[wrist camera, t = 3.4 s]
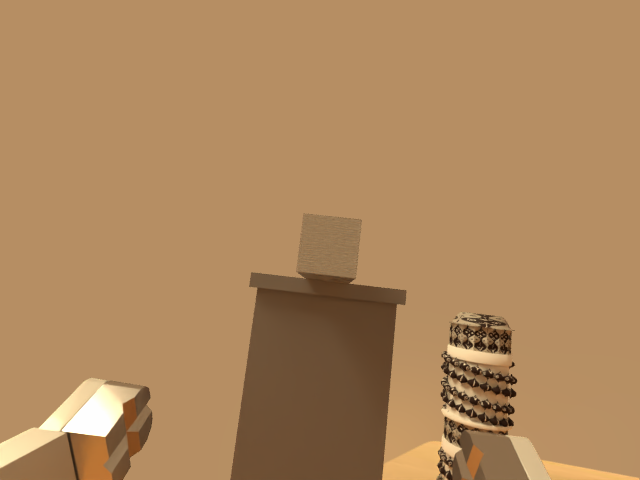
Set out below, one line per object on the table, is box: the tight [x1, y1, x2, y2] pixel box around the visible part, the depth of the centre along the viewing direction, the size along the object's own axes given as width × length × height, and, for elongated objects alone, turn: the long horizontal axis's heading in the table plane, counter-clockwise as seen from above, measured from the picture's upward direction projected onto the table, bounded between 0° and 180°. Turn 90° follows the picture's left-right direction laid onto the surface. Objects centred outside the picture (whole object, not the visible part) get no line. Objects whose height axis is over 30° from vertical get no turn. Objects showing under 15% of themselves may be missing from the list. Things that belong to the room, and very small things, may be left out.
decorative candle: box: [436, 312, 517, 480], centre depth 47 cm, size 9×9×25 cm
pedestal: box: [231, 273, 406, 480], centre depth 29 cm, size 11×11×26 cm
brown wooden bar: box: [296, 214, 362, 284], centre depth 28 cm, size 20×3×4 cm, turn 178°
